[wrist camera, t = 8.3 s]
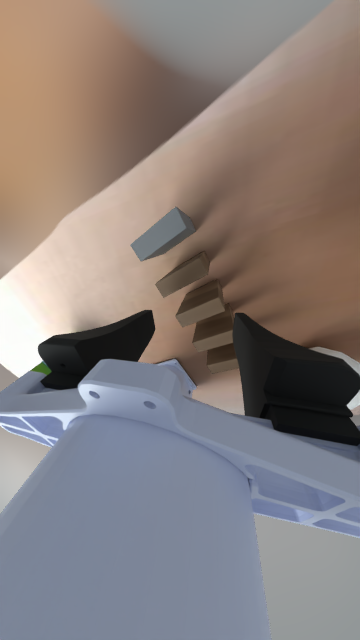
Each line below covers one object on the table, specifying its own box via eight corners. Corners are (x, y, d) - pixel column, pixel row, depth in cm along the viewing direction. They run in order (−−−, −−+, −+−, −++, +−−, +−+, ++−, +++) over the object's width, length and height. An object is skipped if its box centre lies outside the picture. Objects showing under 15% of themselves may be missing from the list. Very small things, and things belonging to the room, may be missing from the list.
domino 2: (209, 262, 18) (207, 274, 13) (178, 280, 20) (163, 297, 15) (204, 250, 18) (199, 257, 12) (172, 270, 20) (154, 284, 14)
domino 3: (222, 288, 20) (225, 310, 14) (191, 303, 22) (182, 327, 16) (217, 278, 19) (218, 297, 13) (186, 294, 21) (175, 316, 15)
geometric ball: (299, 335, 24) (355, 335, 16) (336, 374, 23) (415, 395, 15) (265, 364, 24) (304, 379, 16) (300, 404, 23) (360, 442, 15)
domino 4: (232, 311, 21) (239, 340, 15) (202, 323, 23) (198, 352, 17) (228, 303, 21) (234, 329, 15) (198, 315, 23) (192, 342, 17)
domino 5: (241, 332, 23) (251, 365, 17) (212, 341, 25) (212, 373, 19) (238, 324, 22) (246, 356, 16) (208, 334, 24) (206, 365, 18)
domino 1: (157, 242, 19) (130, 245, 13) (189, 217, 16) (176, 206, 11) (163, 254, 19) (140, 261, 13) (196, 231, 17) (186, 228, 11)
